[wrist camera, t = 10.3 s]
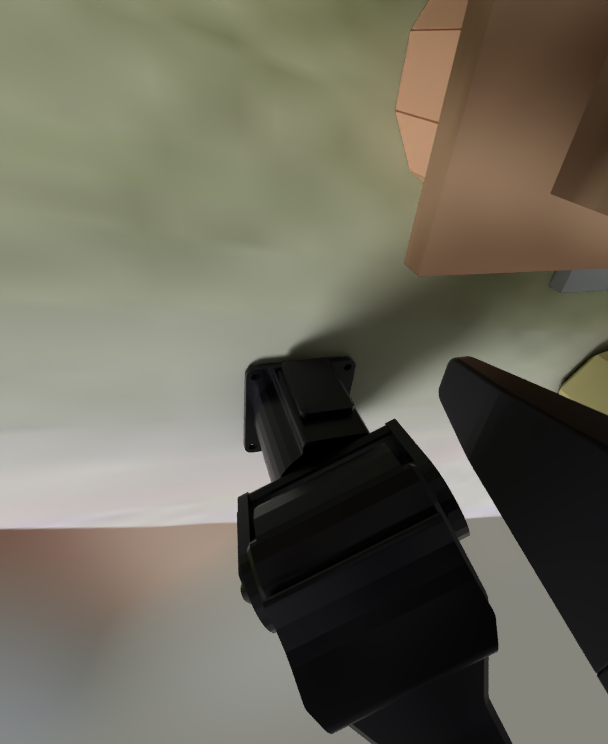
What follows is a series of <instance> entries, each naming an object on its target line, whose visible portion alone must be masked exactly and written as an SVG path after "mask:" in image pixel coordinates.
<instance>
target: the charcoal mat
mask: <svg viewBox="0 0 608 744" xmlns="http://www.w3.org/2000/svg"><path fill="white" fill-rule="evenodd" d="M549 287H551V288H553V289H554V290H556V291H558V292H559V293H575V292H591V291H607V290H608V269H584V270H561V271H556V272H555V274H554V276H553V279H552V281H551V283H550V285H549Z"/></svg>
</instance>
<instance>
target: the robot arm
mask: <svg viewBox="0 0 608 744" xmlns="http://www.w3.org/2000/svg"><path fill="white" fill-rule="evenodd" d="M346 364H348V365H347V366H345V365H346ZM344 366H345V367H344ZM354 370H355V362H354V361H353V359H352V358H351V357H349V356H344V357H334V358H320V359H310V360H300V361H290V362H284V363H274V364H263V365H254V366H250V367H249V368H247V370H246V371H245V391H244V447H245V450H246V451H247V452H258V451H262V453H263V456H264V460H265V463H266V466H267V470H268V473H269V476H270V479H271V483H269V484H267V485H265V486H263V487H261V488H259V489H257V490H255V491H253V492H251V493H248V492H247V493H245V494H243V495H241V496H239V497H238V512H237V528H238V529H237V530H238V531H237V532H238V570H239V572H238V573H239V577H240V580H241V582H242V583H241V594H242V596H243V599H244V600H245V601H246V602H248V603H251V604H252V606H253V608H254V610H255V612H256V614H257V616H258V617H259V619H260V621H261V622H262V624H263V625H264V626H265V627H266V628H267V629H268V630H269V631H270V632H272V633H276V632H277V634H278V636H279V639H280V641H281V643H282V646H283V648H284V650H285V652H286V655H287V658H288V661H289V664H290V666H291V669H292V672H293V675H294V678H295V681H296V683H297V687H298V690H299V693H300V695H301V699H302V701H303V704H304V707H305V709H306V710H307V712H308V713H309V714H310V715H311V716H312V717H313V718H314V719H315V720H316V721H317V722H318V723H319V724H320V725H321V726H322V728H323V729H324V730H326V731H327V732H328V733H330V734H333V733H335V732H337V731H339V730H341V729H343V728H345V727H347V726H349V727H351V728H352V729H353V730H355V731H356V732H357V733H359V734H360V735H361V736H362V737H364V738H365V739H366V740H368V741H369V742H370V743H371V744H512V742H511V740H510V738H509V736H508V734H507V732H506V731H505V728H504V727H503V724H502V723H501V721H500V719H499V717H498V715H497V713H496V711H495V709H494V707H493V705H492V703H491V701H490V699H489V695H488V660H489V657H488V656H490V655H492V654H494V653H495V652H497V651H498V636H497V626H496V617H495V614H494V612H493V609H492V607H491V606H490V604H489V602H488V596H487V594H486V591H485V589H484V587H483V586H482V583H481V582H480V580H479V578H478V576H477V574H476V572H475V570H474V568H473V566H472V565H471V563H470V561H469V559H468V557H467V555H466V553H465V551H464V549H463V547H462V545H461V544H460V542H459V541H460V540H461V539H464V538H465V537H467V536H469V535H470V533H469V528H468V525H467V523H466V520H465V518H464V516H463V514H462V511H461V509H460V507H459V505H458V503H457V502H456V500H455V498H454V496H453V494H452V492H451V491H450V489H449V487H448V486H447V484H446V482H445V481H444V479H443V478H442V476H441V475H440V473H439V472H438V470H437V469H436V467H435V466H434V465H433V463H432V462H431V461H430V460H429V458H428V457H427V456H426V455H425V454H424V453H423V451H422V450H421V449H420V448H419V447H418V445H417V444H416V443H415V442H414V441H413V439H412V438H411V437H410V436H409V435H408V433H407V432H406V431H405V430H404V429H403V428H402V426H401V425H400V424H399V423H398V422H397V420H396V419H393V420H391V421H389V422H387V423H385V426H383V427H381V428H379V429H377V430H375V431H373V432H371V433H370V432H369V430H368V429H367V427H366V425H365V424H364V422H363V420H362V418H361V417H360V415H359V413H358V412H357V410H356V408H355V407H354V402H353V401H352V399H351V397H350V390H351V385H352V380H353V375H354ZM255 373H258V374H257V375H256V376H251V375H252V374H255ZM439 398H440V401H441V403H442V405H443V407H444V410H445V412H446V414H447V416H448V418H449V420H450V422H451V425H452V427H453V429H454V431H455V433H456V435H457V437H458V439H459V442H460V444H461V446H462V448H463V450H464V452H465V454H466V456H467V458H468V460H469V462H470V463H471V465H472V467H473V469H474V470H475V472H476V474H477V476H478V477H479V479H480V481H481V482H482V484H483V486H484V487H485V489H486V491H487V492H488V494H489V496H490V497H491V499H492V501H493V502H494V504H495V506H496V507H497V509H498V511H499V512H500V514H501V516H502V517H503V519H504V520H505V522H506V524H507V526H508V527H509V529H510V530H511V532H512V534H513V535H514V537H515V539H516V541H517V542H518V544H519V546H520V547H521V549H522V551H523V552H524V554H525V555H526V557H527V559H528V561H529V562H530V564H531V566H532V567H533V569H534V571H535V572H536V574H537V576H538V577H539V579H540V581H541V582H542V584H543V586H544V587H545V589H546V591H547V592H548V594H549V596H550V597H551V599H552V601H553V603H554V604H555V606H556V608H557V609H558V611H559V612H560V614H561V616H562V617H563V619H564V621H565V623H566V624H567V626H568V627H569V629H570V631H571V633H572V634H573V636H574V638H575V639H576V641H577V643H578V644H579V646H580V648H581V649H582V651H583V653H584V654H585V656H586V657H587V659H588V661H589V663H590V664H591V666H592V668H593V669H594V671H595V672H596V673H597V677H598V678H599V680H600V682H601V683H602V685H603V687H604V688H605V690H606V692H607V693H608V415H606V414H604V413H602V412H599V411H597V410H595V409H592V408H590V407H588V406H585V405H583V404H581V403H578V402H576V401H574V400H571V399H569V398H567V397H564V396H562V395H560V394H557V393H555V392H553V391H550V390H548V389H546V388H543V387H541V386H539V385H536V384H534V383H532V382H529V381H527V380H525V379H522V378H520V377H518V376H515V375H513V374H511V373H508V372H506V371H504V370H501V369H499V368H497V367H494V366H492V365H490V364H487V363H485V362H483V361H480V360H478V359H476V358H473V357H469V356H466V357H457V358H453V359H451V360H450V361H449V363H448V365H447V367H446V370H445V373H444V376H443V379H442V381H441V384H440V387H439ZM251 444H253V445H251Z"/></svg>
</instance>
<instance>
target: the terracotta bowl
mask: <svg viewBox="0 0 608 744" xmlns="http://www.w3.org/2000/svg"><path fill="white" fill-rule="evenodd" d="M467 4H468V0H429V1H428V3H427V5H426V6H425V8H424V9H423V11H422V12H421V14H420V16H419V17H418V19H417V20H416V22H415V24H414V25H413V27H412V28H411V29H412V30H413V31H410V36H409V42H408V47H407V52H406V57H405V63H404V68H403V73H402V78H401V84H400V89H399V94H398V99H397V105H396V110H397V111H396V115H397V119H398V124H399V128H400V132H401V136H402V140H403V144H404V148H405V152H406V157H407V161H408V165H409V169H410V171H411V172H412V173H413V174H414V175H415V176H416V177H417V178H418V179H419V180H421V181H422V182H423V183H424V179H425V175H426V171H427V167H428V163H429V159H430V155H431V151H432V146H433V142H434V138H435V134H436V130H437V126H438V122H439V118H440V114H441V110H442V106H443V102H444V97H445V93H446V89H447V85H448V81H449V77H450V73H451V69H452V65H453V61H454V57H455V53H456V48H457V44H458V40H459V36H460V32H461V28H462V24H463V20H464V16H465V12H466V8H467Z"/></svg>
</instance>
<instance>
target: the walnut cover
mask: <svg viewBox="0 0 608 744" xmlns="http://www.w3.org/2000/svg"><path fill="white" fill-rule="evenodd" d="M404 264H405V265H406V266H407V267H408V268H410V269H411V270H412V271H413V272H414V273H415V274H417V275H418V276H419V277H421V276H444V275H468V274H491V273H514V272H538V271H561V270H584V269H608V0H468V4H467V8H466V12H465V16H464V20H463V24H462V28H461V32H460V36H459V40H458V44H457V48H456V53H455V57H454V61H453V65H452V69H451V73H450V77H449V81H448V85H447V89H446V93H445V97H444V102H443V106H442V110H441V114H440V118H439V122H438V126H437V130H436V134H435V138H434V142H433V146H432V151H431V155H430V159H429V163H428V167H427V171H426V175H425V179H424V183H423V187H422V191H421V195H420V200H419V204H418V208H417V212H416V216H415V220H414V224H413V228H412V232H411V236H410V240H409V244H408V249H407V253H406V257H405V261H404Z"/></svg>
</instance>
